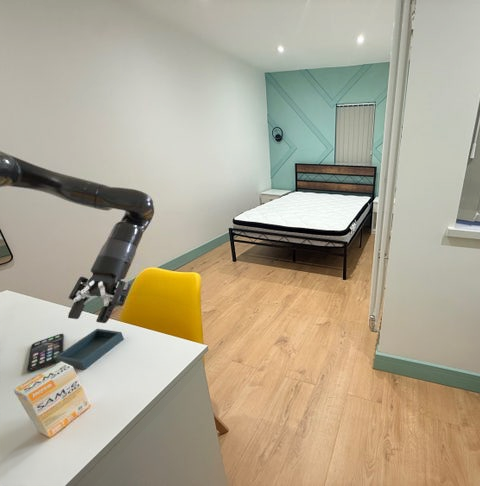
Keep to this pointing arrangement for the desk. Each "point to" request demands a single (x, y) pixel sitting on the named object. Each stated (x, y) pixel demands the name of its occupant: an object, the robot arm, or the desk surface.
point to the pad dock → (90, 348)
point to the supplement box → (53, 398)
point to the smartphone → (45, 352)
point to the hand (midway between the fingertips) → (86, 320)
